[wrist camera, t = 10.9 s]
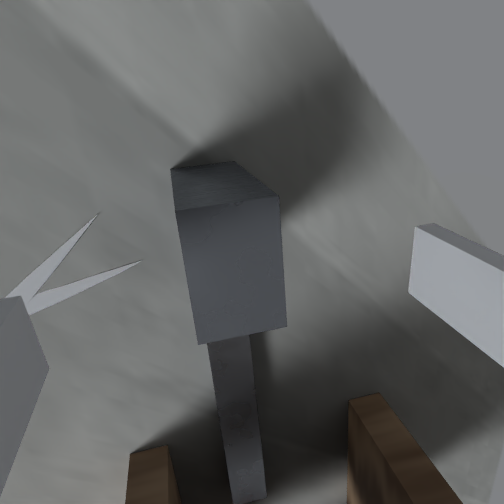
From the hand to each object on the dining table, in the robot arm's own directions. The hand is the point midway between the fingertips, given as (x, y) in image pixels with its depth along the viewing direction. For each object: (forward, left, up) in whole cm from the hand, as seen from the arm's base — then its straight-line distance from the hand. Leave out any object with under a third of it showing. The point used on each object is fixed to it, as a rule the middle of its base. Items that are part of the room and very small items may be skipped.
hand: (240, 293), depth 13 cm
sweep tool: (+12, 0, -13) cm, 18 cm away
